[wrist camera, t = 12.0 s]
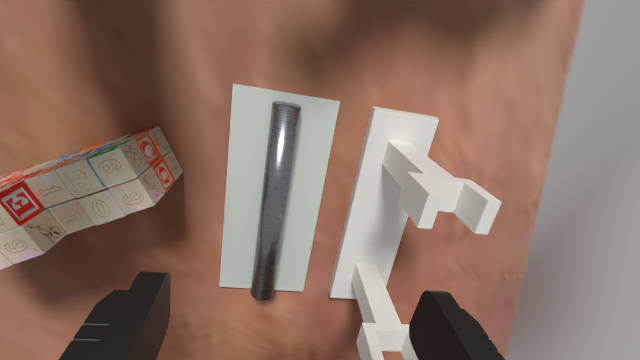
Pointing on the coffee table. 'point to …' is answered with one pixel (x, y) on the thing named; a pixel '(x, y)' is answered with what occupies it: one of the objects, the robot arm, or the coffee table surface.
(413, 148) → the rack
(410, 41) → the coffee table surface
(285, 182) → the rail
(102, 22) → the coffee table surface
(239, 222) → the mat
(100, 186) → the stack of blocks
